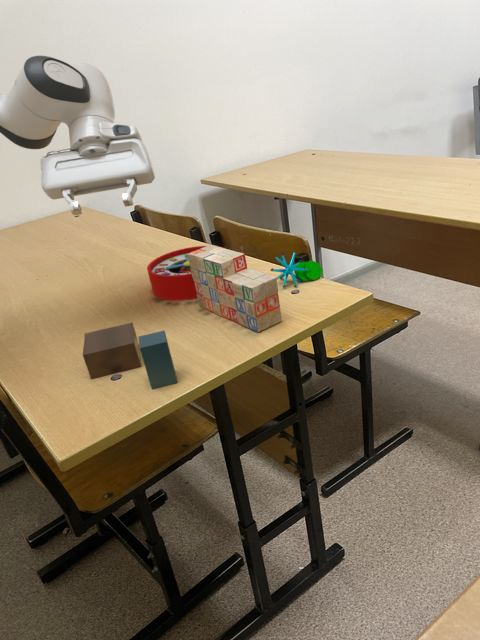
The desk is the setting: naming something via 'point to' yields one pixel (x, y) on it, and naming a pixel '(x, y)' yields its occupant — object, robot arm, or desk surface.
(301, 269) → the stick construction toy
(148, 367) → the teal block
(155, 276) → the toy clock
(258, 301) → the stack of blocks
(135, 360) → the walnut block
